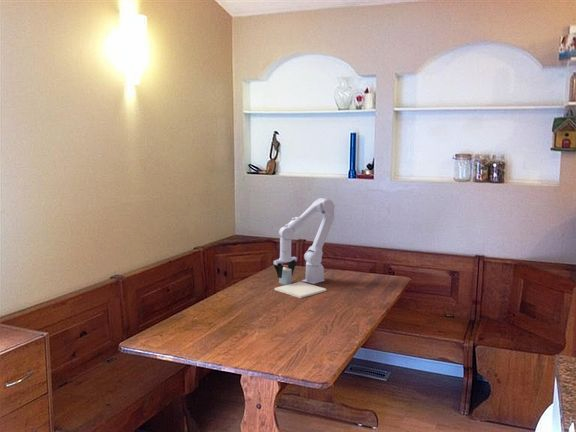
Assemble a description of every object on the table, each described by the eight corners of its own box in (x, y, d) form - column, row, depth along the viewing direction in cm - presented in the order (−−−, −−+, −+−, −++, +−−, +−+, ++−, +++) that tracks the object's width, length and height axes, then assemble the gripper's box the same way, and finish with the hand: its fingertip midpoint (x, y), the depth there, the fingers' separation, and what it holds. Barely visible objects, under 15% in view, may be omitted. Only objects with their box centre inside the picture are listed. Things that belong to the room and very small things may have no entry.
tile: (300, 283, 271) (300, 281, 271) (326, 290, 259) (326, 288, 258) (274, 290, 259) (274, 288, 259) (300, 298, 246) (300, 296, 246)
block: (283, 281, 274) (283, 267, 273) (291, 284, 270) (291, 269, 269) (279, 283, 272) (279, 268, 271) (287, 285, 268) (287, 270, 266)
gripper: (290, 247, 276) (289, 272, 278) (269, 251, 266) (269, 277, 268) (299, 249, 271) (299, 275, 273) (279, 253, 261) (278, 280, 263)
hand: (285, 276), depth 270 cm, fingers open, 7 cm apart
